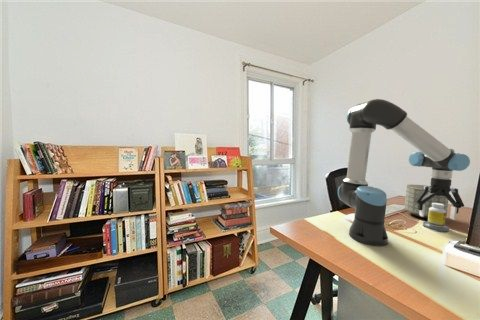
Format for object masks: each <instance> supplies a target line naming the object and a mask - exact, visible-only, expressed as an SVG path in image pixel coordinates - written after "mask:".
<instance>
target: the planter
mask: <svg viewBox="0 0 480 320" xmlns="http://www.w3.org/2000/svg"><path fill="white" fill-rule="evenodd" d="M423 186H427V187H430V186H431V185H427V184H426V185H425V184H424V185H423V184H407V185H406V189H405V190H406V191H405V199H404V200H405V201H404V209H405V211H407V212H409V213H411V214H412V215H414V216H416V217H419V218H422V219H427V220H428V214H429V208H430V207H432V203H440V204H444V208H443V209H444V210H445V211H446V217H447V215H448V206H449V200H448V199H447V198H446V197H445V196H436V195H435V196H433V197H432V198H430V199H429V200H428V201H427V202H425V203H424V205H425V211H424V217H422V216H420V215H419V211H420V210H419V209H418V203H417V202H415V201H414V200H415V199H416V197H417V196H418V195H419V193H420V192H421V191H422V189H423ZM430 191H431V190H430V189H429V191H428V192H427V193H426V195H427V194H428V193H429V192H430ZM432 194H433V193H432ZM426 195H425V196H426ZM425 196H424V197H425Z"/></svg>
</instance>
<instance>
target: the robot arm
mask: <svg viewBox="0 0 480 320" xmlns="http://www.w3.org/2000/svg"><path fill="white" fill-rule="evenodd" d="M346 122H347V123H348V125H349V127H348V129H349V131H350V132H351V138H350V147H349V154H348V155H349V156H348V162H347V172H346V176H345V178H343V179H342V183H341V185H339V186H338V188H337V196H338V199H339V200H340V201H341V202H342V203H343V204H344V205H346V206H349V207H350V208H351V209H354V219H353V222H352V224H351V225H350V227H349V231H348V235H349V236H350V238H352V239H353V240H355V241H357V242H359V243H362V244H366V245H369V246H374V247H375V246H377V247H382V246H383V247H384V246H386V245H388V242H389V236H388V234H387V230H386V227H385V221H386V219H385V218H386V209H387V202H388V201H387V200H388V199H387V192H385V191H384V190H382V189H381V188H377V187H374V186H370V185H369V182H368V181H367V180H366V178H367V169H368V168H367V167H368V162H369V156H370V155H369V153H370V147H371V146H370V145H371V141H372V140H371V138H372V134H373V133H374V132H375V131H376V129H377V126H380V127H383V128H384V129H386V130H388V131H389V130H391V131H393V132H394V133H395V134H397V135H398V136H399V137H401V138H402V139H403V140H404V141H406V142H407V143H408V144H410V145H411V146H413V147H414V148H415V149H417V150H418V151H414V152H413V151H412V152H411V154H409V155H408V163H409V164H410V165H411V166H412V167H423V168H424V167H426V168H431V175H430V176H431V178H430V185H429V186H430V187H427V186H428V185H426V186H423V189H422V191H421V192H420V193H419V195H418V196H417V197H416V199H415V200H414V201H415V202H417V203H418V209H419V210H420V211H419V215H420V216H422V217H424V211H425V205H424V203H425V202H427V201H428V200H429V199H430V198H432V197H433V196H435V195H436V196H445V197H446V198H447V199H448V202H450V204H451V206H450V214H449V219H451V220H454V221H456V219H457V214H458V213H459V212H460V211H459V210H460V209H461V208H463V207H465V204H464V202H463V199H462V198H461V196H460V193H459V189H458V188H455V187H451V186H452V178H453V171H454V172H455V171H457V172H458V171H459V172H461V171H462V172H463V171H465V170H467V168H468V167H469V166H470V164H471V159H470V157H469V156H468V155H467V154H464V153H459V152H457V153H456V152H455V150H454V149H452V148H449V147H448V146H446V145H445V144H443V143H442V142H441V141H440V140H439V139H437V138H436V137H434V136H433V135H432V134H431V133H429V132H428V131H427V130H425V128H423V127H422V126H420V125H419V124H418V123H416V122H415V121H414V120H413V119H411V118H409V116H408V113H407V112H406V111H405V110H404V109H403V108H401V107H400V106H398V105H397V104H395V103H393V102H391V101H389V100H386V99H381V98H375V99H370V100H369V101H365V102H363V103H361V102H360V103H358V104H356V105H354V106H353V107H351V108H350V109H349V110H348V112H347V115H346ZM429 189H430V190H431V191H430V192H429V193H428V194H427V195H426V193H427V192H428V191H429ZM432 193H433V194H432ZM450 193H451V194H452V195H451V194H450ZM425 195H426V196H425ZM424 196H425V197H424ZM452 196H453V197H452Z"/></svg>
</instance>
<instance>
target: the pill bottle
mask: <svg viewBox="0 0 480 320" xmlns="http://www.w3.org/2000/svg"><path fill="white" fill-rule="evenodd" d="M443 208H444V204H440V203H432V207H430V208H429V214H428V219H427V222H428V224H430V225H432V226H436V227H444V226H446V218H447V216H446V211H445V210H444V209H443Z"/></svg>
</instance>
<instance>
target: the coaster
mask: <svg viewBox="0 0 480 320" xmlns="http://www.w3.org/2000/svg"><path fill="white" fill-rule="evenodd" d="M422 226H423V227H424V228H426V229H428V230H430V231H435V232H440V233H449V232H450V229H451V228H450V227H449V226H447V225H445V226H444V227H436V226H432V225H430V224H428V220H427V221H423V222H422Z"/></svg>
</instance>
